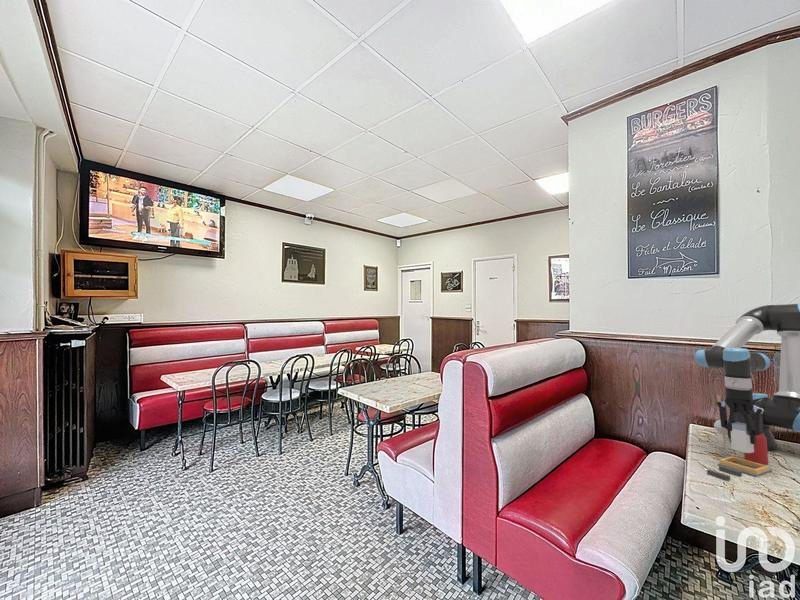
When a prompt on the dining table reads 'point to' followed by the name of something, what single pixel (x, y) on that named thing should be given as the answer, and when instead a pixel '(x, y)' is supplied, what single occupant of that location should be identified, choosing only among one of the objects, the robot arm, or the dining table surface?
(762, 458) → the beer can
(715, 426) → the lollipop
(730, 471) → the dark gray parallel bars
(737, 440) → the plug
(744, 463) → the panel
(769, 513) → the dining table surface
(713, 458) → the dining table surface
